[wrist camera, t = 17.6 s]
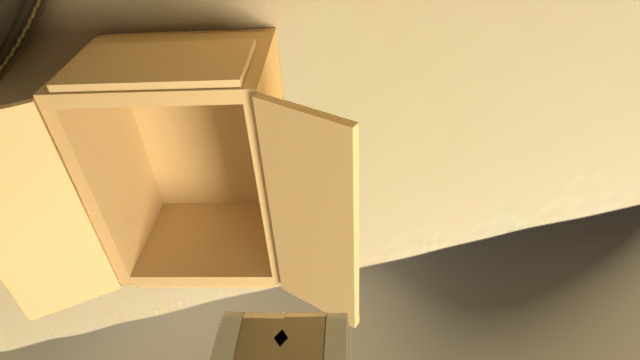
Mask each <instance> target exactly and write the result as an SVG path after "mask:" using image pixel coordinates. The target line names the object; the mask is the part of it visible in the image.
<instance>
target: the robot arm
mask: <svg viewBox="0 0 640 360" xmlns="http://www.w3.org/2000/svg"><path fill="white" fill-rule="evenodd" d="M349 328H350V327H349V313H348V312H343V313H327V312H286V313H264V312H263V313H262V312H258V313H257V312H224V314H223V316H222V317H221V320H220V323H219V327H218V332H217V335H216V339H215V342H214V346H213V350H212V354H211V358H210V360H351V351H350V350H351V348H350V329H349Z"/></svg>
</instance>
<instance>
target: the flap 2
mask: <svg viewBox="0 0 640 360" xmlns="http://www.w3.org/2000/svg"><path fill="white" fill-rule="evenodd" d="M252 99H253V105H254V112H255V118H256V125H257V131H258V138H259V144H260V150H261V157H262V163H263V170H264V176H265V183H266V189H267V196H268V202H269V209H270V215H271V221H272V228H273V234H274V241H275V247H276V254H277V260H278V267H279V273H280V279H281V286H282V289H284V290H286V291H287V292H289V293H291V294H293V295H295V296H297V297H299V298H300V299H302V300H304V301H306V302H308V303H309V304H311V305H313V306H315V307H317V308H319V309H321V310H322V311H324V312H327V313H343V312H348V313H349V325H350V326H352V327H353V328H355V327H356V326H357V325H358V323H359V123H358V122H355V121H352V120H348V119H345V118H342V117H338V116H335V115H332V114H329V113H325V112H322V111H319V110H315V109H312V108H309V107H306V106H302V105H299V104H296V103H293V102H289V101H286V100H283V99H279V98H276V97H273V96H270V95H266V94H263V93H260V92H258V93H257V94H255V95H253V96H252Z"/></svg>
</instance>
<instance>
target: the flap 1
mask: <svg viewBox="0 0 640 360" xmlns="http://www.w3.org/2000/svg"><path fill="white" fill-rule="evenodd" d="M0 279H1V280H2V282H3V283H4V284H5V286H6V287H7V289H8V290H9V292H10V293H11V294H12V296H13V297H14V299H15V300H16V302H17V303H18V305H19V306H20V307H21V309H22V310H23V312H24V313H25V315H26V316H27V317H28V319H29V320H30V321H32V320H35V319H38V318H41V317H43V316H46V315H49V314H52V313H55V312H57V311H60V310H63V309H66V308H68V307H71V306H74V305H77V304H79V303H82V302H85V301H88V300H90V299H93V298H96V297H99V296H101V295H104V294H107V293H110V292H112V291H115V290H118V289H121V284H120V282H119V279H118V277H117V275H116V273H115V271H114V269H113V267H112V265H111V262H110V260H109V258H108V256H107V254H106V252H105V250H104V248H103V245H102V243H101V241H100V239H99V237H98V235H97V233H96V231H95V228H94V226H93V224H92V222H91V220H90V218H89V216H88V214H87V211H86V209H85V207H84V205H83V203H82V201H81V199H80V197H79V194H78V192H77V190H76V188H75V186H74V184H73V182H72V180H71V177H70V175H69V173H68V171H67V169H66V167H65V165H64V163H63V160H62V158H61V156H60V154H59V152H58V150H57V148H56V146H55V143H54V141H53V139H52V137H51V135H50V133H49V131H48V129H47V126H46V124H45V122H44V120H43V118H42V116H41V114H40V112H39V109H38V107H37V105H36V103H35V101H34V99H33V98H31V99H26V100H22V101H17V102H13V103H9V104H4V105H0Z"/></svg>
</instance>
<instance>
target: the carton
mask: <svg viewBox="0 0 640 360" xmlns="http://www.w3.org/2000/svg"><path fill="white" fill-rule="evenodd" d="M258 92H260V93H263V94H266V95H270V96H273V97H276V98H279V99H283V100H284V96H283V87H282V78H281V69H280V60H279V51H278V42H277V33H276V28H257V29H229V30H201V31H173V32H145V33H116V34H98V35H97V36H96V37H95V38H94V39H93V40H92V41H90V42H89V43H88V44H87V45H86V46H85V47H84V48H83V49H82V50H81V51H80V52H79V53H78V54H76V55H75V56H74V57H73V58H72V59H71V60H70V61H69V62H68V63H67V64H66V65H65V66H64V67H63V68H61V69H60V70H59V71H58V72H57V73H56V74H55V75H54V76H53V77H52V78H51V79H50V80H49V81H47V82H46V83H45V84H44V85H43V86H42V87H41V88H40V89H39V90H38V91H37V92H36V93H35V94H34V95H33V97H34V99H35V101H36V103H37V105H38V108H39V110H40V112H41V114H42V116H43V118H44V120H45V122H46V125H47V127H48V129H49V131H50V133H51V135H52V137H53V139H54V142H55V144H56V146H57V148H58V150H59V152H60V154H61V157H62V159H63V161H64V163H65V165H66V167H67V169H68V171H69V174H70V176H71V178H72V180H73V182H74V184H75V186H76V188H77V191H78V193H79V195H80V197H81V199H82V201H83V203H84V206H85V208H86V210H87V212H88V214H89V216H90V218H91V220H92V223H93V225H94V227H95V229H96V231H97V233H98V235H99V237H100V240H101V242H102V244H103V246H104V248H105V250H106V252H107V255H108V257H109V259H110V261H111V263H112V265H113V267H114V269H115V272H116V274H117V276H118V278H119V280H120V282H121V284H122V285H135V286H136V287H275V285H281V279H280V273H279V267H278V260H277V254H276V247H275V241H274V234H273V228H272V221H271V215H270V209H269V202H268V196H267V189H266V183H265V176H264V170H263V163H262V157H261V150H260V144H259V138H258V131H257V125H256V118H255V112H254V105H253V99H252V96H253V95H255V94H257V93H258Z"/></svg>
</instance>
